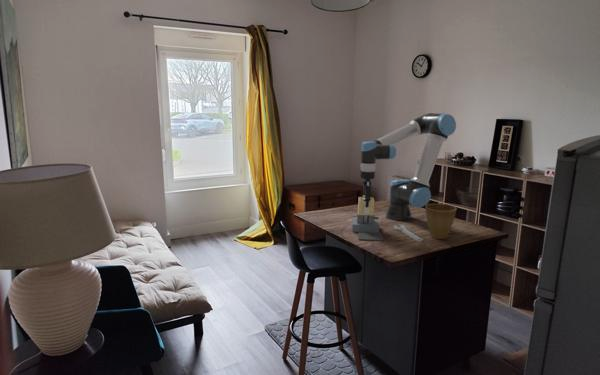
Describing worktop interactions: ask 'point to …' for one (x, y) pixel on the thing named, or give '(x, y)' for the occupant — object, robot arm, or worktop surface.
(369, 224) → the vise
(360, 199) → the brass collar
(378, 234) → the rubber mat
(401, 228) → the adjustable wrench
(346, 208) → the worktop surface
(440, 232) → the plant pot
